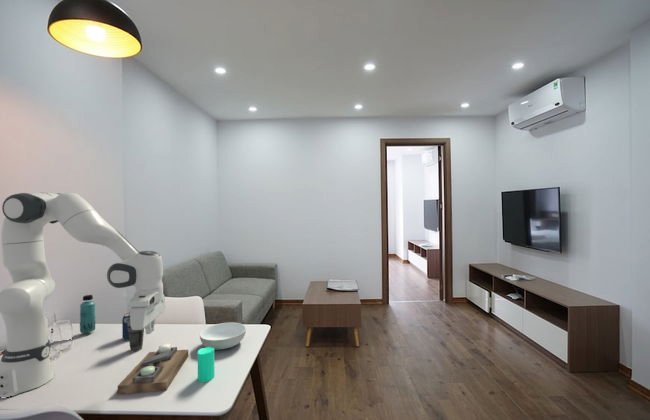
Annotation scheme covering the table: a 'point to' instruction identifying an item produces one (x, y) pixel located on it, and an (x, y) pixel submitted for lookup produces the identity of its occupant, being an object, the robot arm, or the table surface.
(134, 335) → the beverage cup
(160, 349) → the button offwhite
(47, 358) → the robot arm
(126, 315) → the soda can
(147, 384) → the switch panel
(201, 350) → the candle
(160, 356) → the flat grey strip
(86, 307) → the beverage bottle
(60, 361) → the table surface
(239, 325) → the serving bowl
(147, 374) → the button sage
